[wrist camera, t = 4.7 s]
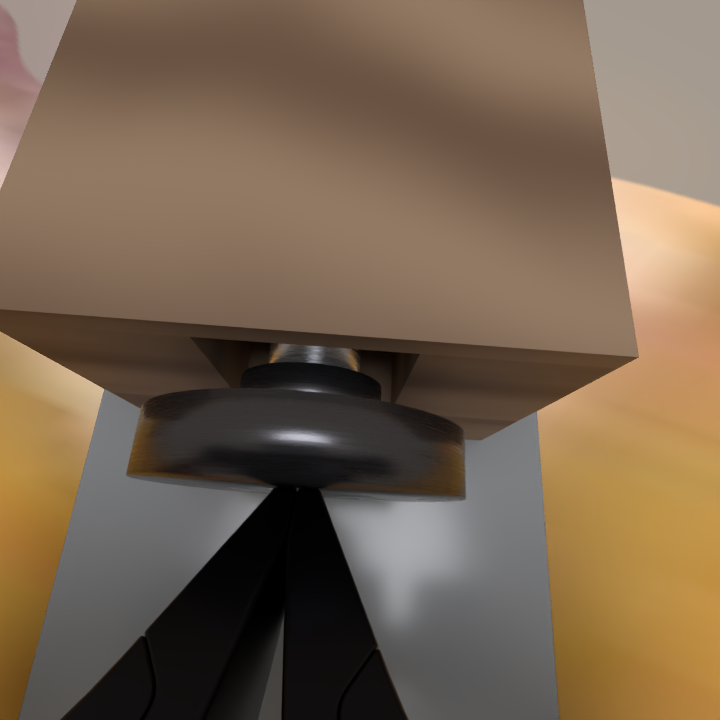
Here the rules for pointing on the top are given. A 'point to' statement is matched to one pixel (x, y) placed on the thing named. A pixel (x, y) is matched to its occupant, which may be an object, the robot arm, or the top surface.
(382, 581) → the slate board
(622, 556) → the top surface
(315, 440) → the plunger
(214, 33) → the press housing
